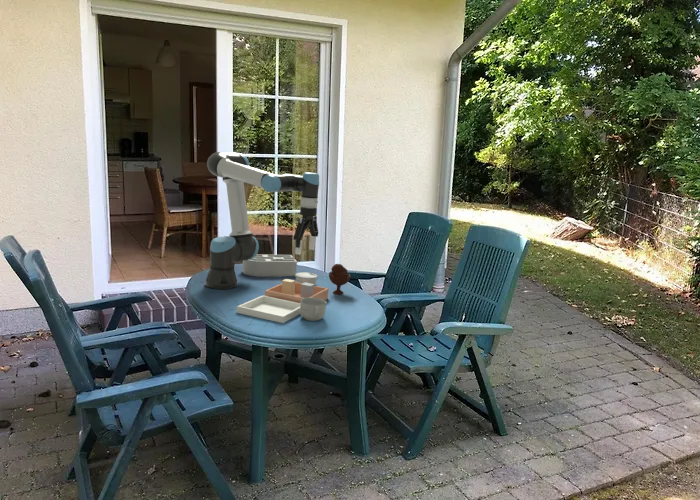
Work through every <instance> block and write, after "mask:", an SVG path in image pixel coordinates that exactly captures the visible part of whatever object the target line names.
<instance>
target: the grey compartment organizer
mask: <svg viewBox="0 0 700 500" xmlns="http://www.w3.org/2000/svg"><path fill="white" fill-rule="evenodd" d="M297 265H298V261H297V260H296V259H294V257H293V255H292V254H258V253H257V254H256V256H255V257H254V258H252V259H249V260H244V261H242V273H243V274H244V275H247V276H250V277H282V276H291V277H292V276H294V277H295V278H296V276H295V274H296V273H297Z"/></svg>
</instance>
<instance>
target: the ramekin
mask: <svg viewBox="0 0 700 500" xmlns="http://www.w3.org/2000/svg"><path fill="white" fill-rule="evenodd" d="M317 280H318V275H317V274H316V273H312V272H306V271H305V272H296V274H295V282H298V283H305V282H306V283H311V284H315V285H316V283H317Z"/></svg>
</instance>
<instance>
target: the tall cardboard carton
mask: <svg viewBox="0 0 700 500" xmlns="http://www.w3.org/2000/svg"><path fill="white" fill-rule="evenodd" d="M295 282H296V279H295V280H294V279H290V278H285V279H283V280H281V284H282V290H281V293H283V294H288V295H293V296H294V294H295Z"/></svg>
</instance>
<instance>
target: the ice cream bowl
mask: <svg viewBox="0 0 700 500" xmlns="http://www.w3.org/2000/svg"><path fill="white" fill-rule="evenodd" d="M330 270H331V272H329V273H328V277H329V280H330V282H331V284H333V285H335V286H336V289H335V290H333V291H332V294H333V295H338V296H342V295H344V291H343V290H341V286H344V285H346V284H347V283H349V281H350V279H351V277H352V276H351V274H349V273H348V269H347V268H346V267H345V266H344V265H342V264H341V263H336V264H334V265H332V267H331V269H330Z"/></svg>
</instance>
